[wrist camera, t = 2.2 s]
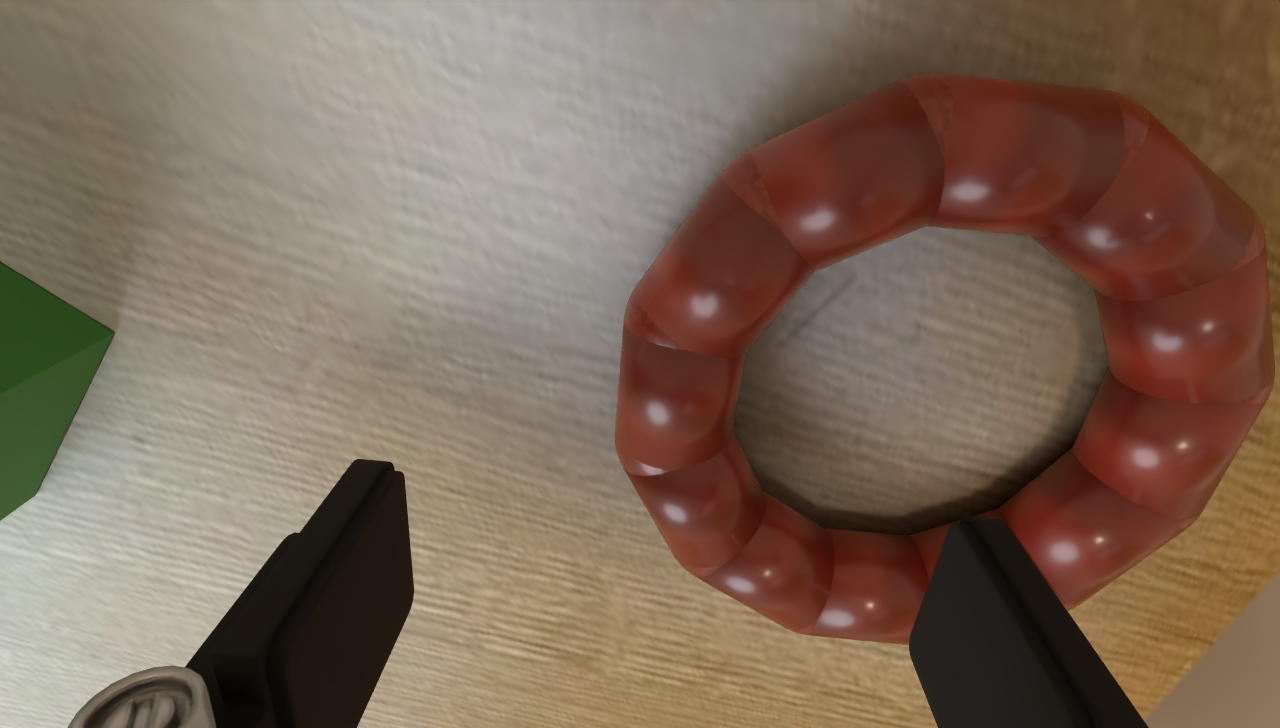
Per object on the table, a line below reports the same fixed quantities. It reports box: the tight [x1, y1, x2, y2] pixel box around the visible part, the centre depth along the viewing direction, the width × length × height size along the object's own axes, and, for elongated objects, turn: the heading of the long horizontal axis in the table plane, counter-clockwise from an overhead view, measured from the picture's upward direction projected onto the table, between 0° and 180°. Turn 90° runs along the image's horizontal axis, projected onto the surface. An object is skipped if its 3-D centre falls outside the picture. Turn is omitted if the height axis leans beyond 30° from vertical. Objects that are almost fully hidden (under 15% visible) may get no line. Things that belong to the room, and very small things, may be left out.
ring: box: [615, 74, 1275, 645], centre depth 17 cm, size 15×15×3 cm
